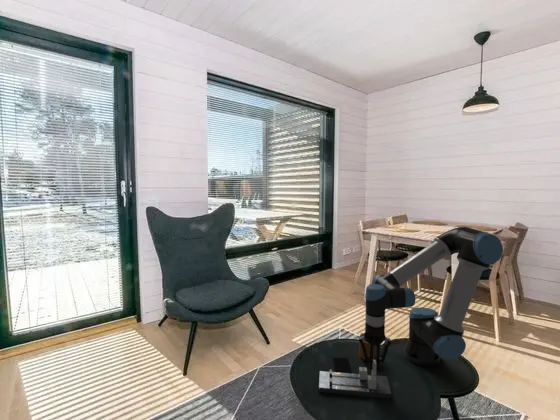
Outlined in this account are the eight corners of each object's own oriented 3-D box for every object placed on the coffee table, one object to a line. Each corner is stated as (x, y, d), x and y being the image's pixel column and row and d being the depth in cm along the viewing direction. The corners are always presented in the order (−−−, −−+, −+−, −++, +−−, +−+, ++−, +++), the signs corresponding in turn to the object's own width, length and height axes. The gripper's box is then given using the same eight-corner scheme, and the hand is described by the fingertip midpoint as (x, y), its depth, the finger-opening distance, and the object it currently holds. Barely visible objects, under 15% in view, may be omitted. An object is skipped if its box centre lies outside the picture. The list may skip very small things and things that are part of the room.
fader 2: (375, 385, 123) (375, 375, 122) (376, 389, 120) (376, 380, 120) (367, 384, 123) (367, 375, 123) (368, 388, 121) (368, 379, 120)
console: (386, 380, 128) (387, 372, 128) (391, 398, 119) (391, 389, 118) (319, 375, 133) (319, 366, 132) (319, 391, 123) (318, 382, 123)
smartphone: (336, 379, 130) (332, 357, 144) (336, 381, 130) (332, 358, 144) (353, 379, 129) (347, 357, 144) (353, 381, 129) (347, 358, 144)
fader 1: (366, 376, 128) (366, 367, 128) (367, 380, 126) (367, 371, 125) (359, 375, 129) (359, 366, 128) (359, 379, 126) (359, 370, 126)
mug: (372, 345, 154) (372, 329, 152) (380, 361, 142) (381, 343, 140) (354, 346, 153) (355, 329, 152) (361, 361, 141) (362, 343, 140)
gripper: (390, 319, 126) (388, 371, 129) (357, 317, 128) (356, 368, 131) (393, 328, 118) (392, 383, 122) (359, 326, 120) (358, 381, 124)
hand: (373, 376), depth 126 cm, fingers closed
